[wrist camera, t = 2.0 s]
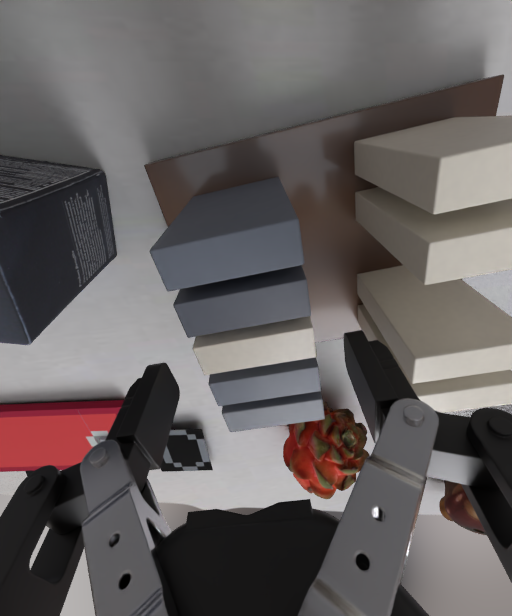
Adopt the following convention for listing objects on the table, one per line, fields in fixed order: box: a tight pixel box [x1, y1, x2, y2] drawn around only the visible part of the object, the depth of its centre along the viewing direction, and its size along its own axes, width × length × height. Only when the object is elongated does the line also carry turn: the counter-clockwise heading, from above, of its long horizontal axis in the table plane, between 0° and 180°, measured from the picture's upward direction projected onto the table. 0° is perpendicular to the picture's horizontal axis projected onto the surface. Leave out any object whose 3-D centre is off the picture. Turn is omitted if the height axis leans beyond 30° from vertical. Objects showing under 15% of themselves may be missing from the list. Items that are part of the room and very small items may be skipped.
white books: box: [354, 116, 512, 413], centre depth 16 cm, size 13×6×9 cm, turn 12°
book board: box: [144, 75, 504, 343], centre depth 21 cm, size 16×20×2 cm
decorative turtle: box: [440, 481, 487, 535], centre depth 35 cm, size 10×15×8 cm, turn 170°
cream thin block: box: [193, 316, 317, 375], centre depth 17 cm, size 2×6×9 cm, turn 102°
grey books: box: [150, 177, 325, 432], centre depth 17 cm, size 11×6×9 cm, turn 12°
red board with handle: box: [0, 400, 213, 476], centre depth 33 cm, size 30×3×15 cm
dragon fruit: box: [283, 402, 370, 499], centre depth 30 cm, size 8×8×12 cm
